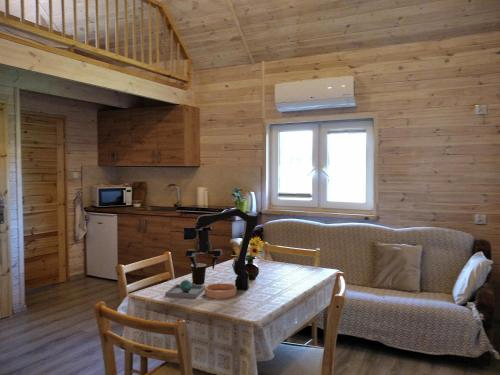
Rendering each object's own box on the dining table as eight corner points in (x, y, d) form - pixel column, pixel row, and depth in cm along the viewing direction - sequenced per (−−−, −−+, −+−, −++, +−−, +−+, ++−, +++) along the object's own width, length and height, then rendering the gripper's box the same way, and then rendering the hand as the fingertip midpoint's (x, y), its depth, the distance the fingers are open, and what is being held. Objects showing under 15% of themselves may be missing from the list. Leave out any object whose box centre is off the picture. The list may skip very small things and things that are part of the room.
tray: (205, 289, 226) (205, 285, 226) (196, 298, 210) (196, 294, 210) (176, 287, 229) (176, 284, 229) (165, 296, 213) (165, 292, 213)
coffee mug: (203, 285, 233) (203, 267, 233) (188, 284, 235) (188, 266, 235) (209, 280, 245) (209, 262, 244) (195, 279, 247) (195, 262, 246)
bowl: (238, 290, 224) (238, 283, 224) (232, 299, 208) (232, 292, 208) (209, 289, 226) (209, 282, 226) (201, 297, 211) (201, 290, 211)
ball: (193, 290, 222) (193, 279, 222) (189, 293, 216) (189, 282, 216) (182, 289, 223) (182, 278, 223) (178, 293, 217) (178, 281, 217)
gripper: (224, 236, 230) (225, 265, 231) (190, 236, 233) (191, 265, 234) (219, 240, 219) (220, 270, 220) (184, 240, 222) (185, 270, 223)
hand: (204, 269), depth 224 cm, fingers open, 9 cm apart
